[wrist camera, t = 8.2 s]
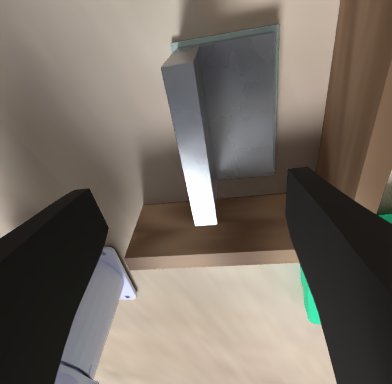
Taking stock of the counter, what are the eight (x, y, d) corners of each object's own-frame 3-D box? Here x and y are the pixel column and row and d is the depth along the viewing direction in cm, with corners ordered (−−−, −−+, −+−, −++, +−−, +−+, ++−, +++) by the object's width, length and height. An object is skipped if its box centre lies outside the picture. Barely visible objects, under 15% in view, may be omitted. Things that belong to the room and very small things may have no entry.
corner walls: (147, 216, 21) (130, 270, 17) (72, 8, 13) (2, 11, 9) (329, 202, 19) (360, 259, 15) (378, -55, 11) (480, -91, 7)
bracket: (177, 47, 13) (160, 67, 9) (272, 30, 13) (298, 45, 9) (199, 175, 18) (195, 225, 14) (270, 169, 17) (286, 219, 13)
